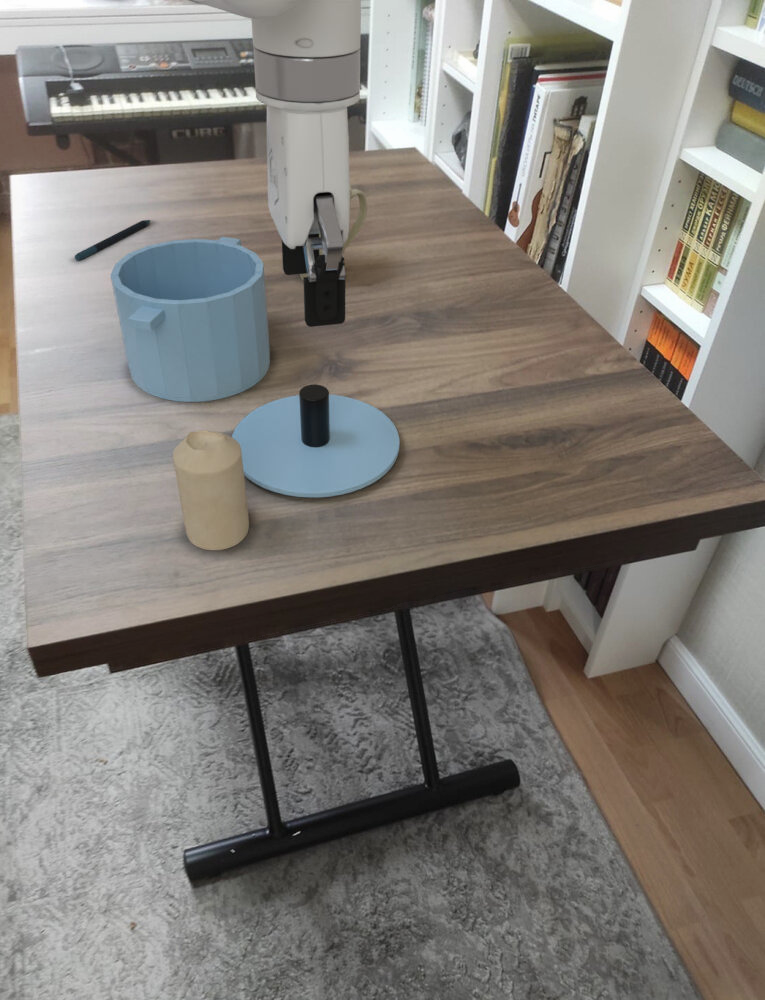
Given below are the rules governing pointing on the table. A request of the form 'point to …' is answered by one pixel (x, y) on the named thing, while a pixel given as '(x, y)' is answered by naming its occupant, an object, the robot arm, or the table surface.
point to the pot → (193, 318)
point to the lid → (316, 444)
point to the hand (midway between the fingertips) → (312, 296)
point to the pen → (111, 240)
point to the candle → (212, 489)
